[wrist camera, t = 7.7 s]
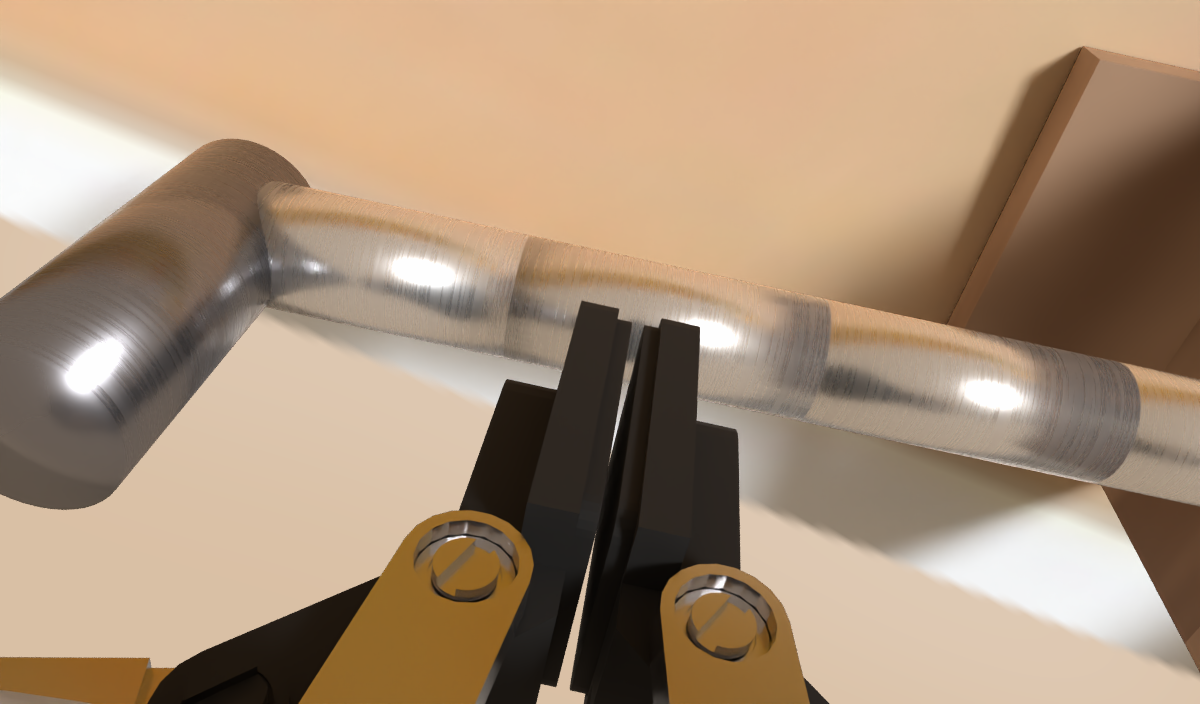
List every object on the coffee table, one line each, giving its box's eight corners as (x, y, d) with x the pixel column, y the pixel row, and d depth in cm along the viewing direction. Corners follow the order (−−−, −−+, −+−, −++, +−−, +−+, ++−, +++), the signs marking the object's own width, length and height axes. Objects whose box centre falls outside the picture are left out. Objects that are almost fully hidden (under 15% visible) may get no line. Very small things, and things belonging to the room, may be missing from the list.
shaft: (1399, 389, 14) (1756, 718, 9) (1305, 493, 16) (1575, 829, 11) (173, 124, 14) (-118, 322, 9) (186, 253, 16) (-61, 485, 11)
